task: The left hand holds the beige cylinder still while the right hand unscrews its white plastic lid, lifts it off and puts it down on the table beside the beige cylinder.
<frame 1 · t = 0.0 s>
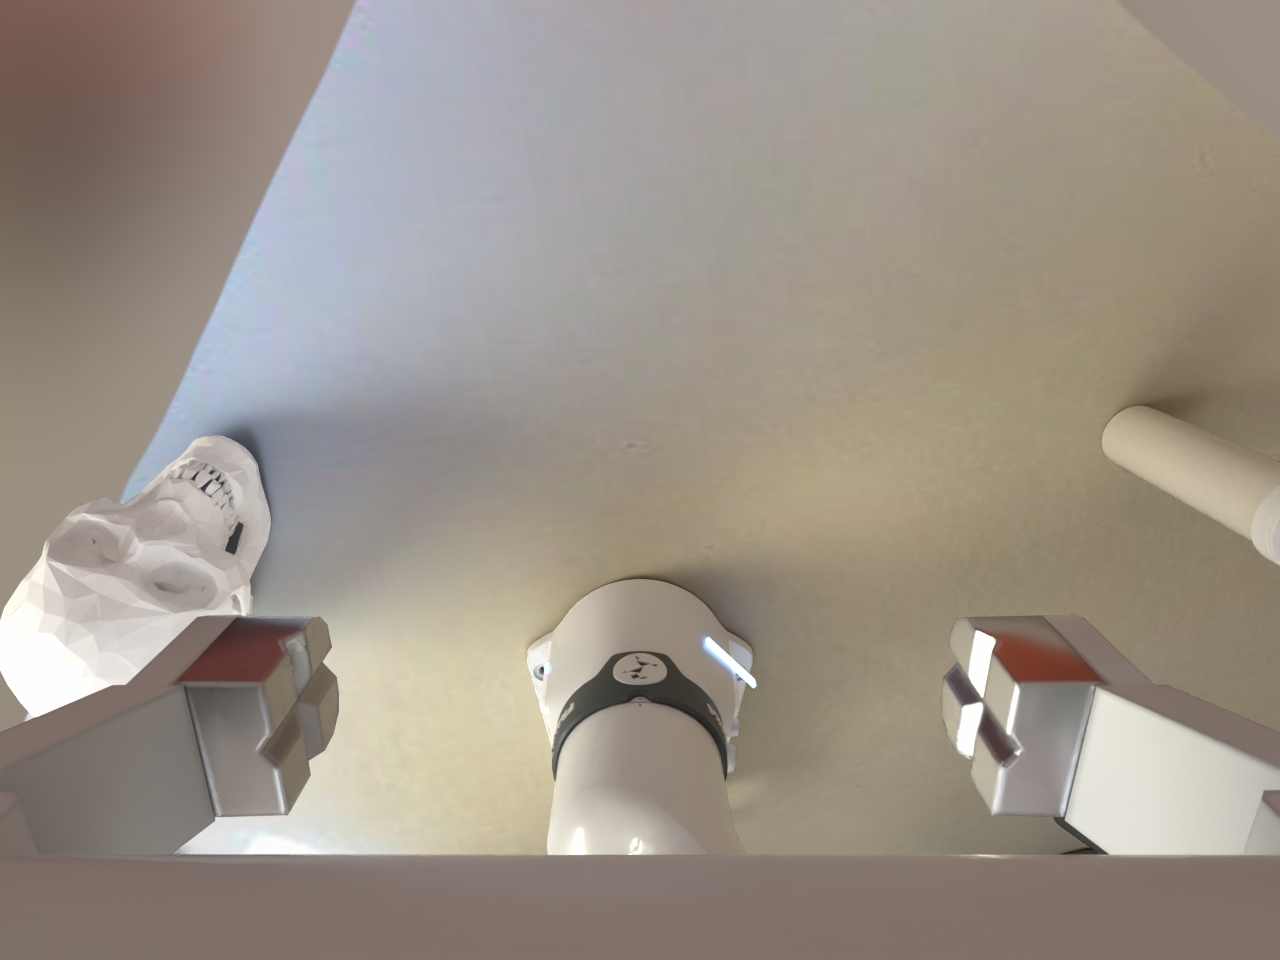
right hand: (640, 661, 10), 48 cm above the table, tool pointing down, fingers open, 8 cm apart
beige cylinder: (1133, 435, 59), on the table
skull: (200, 547, 63), on the table
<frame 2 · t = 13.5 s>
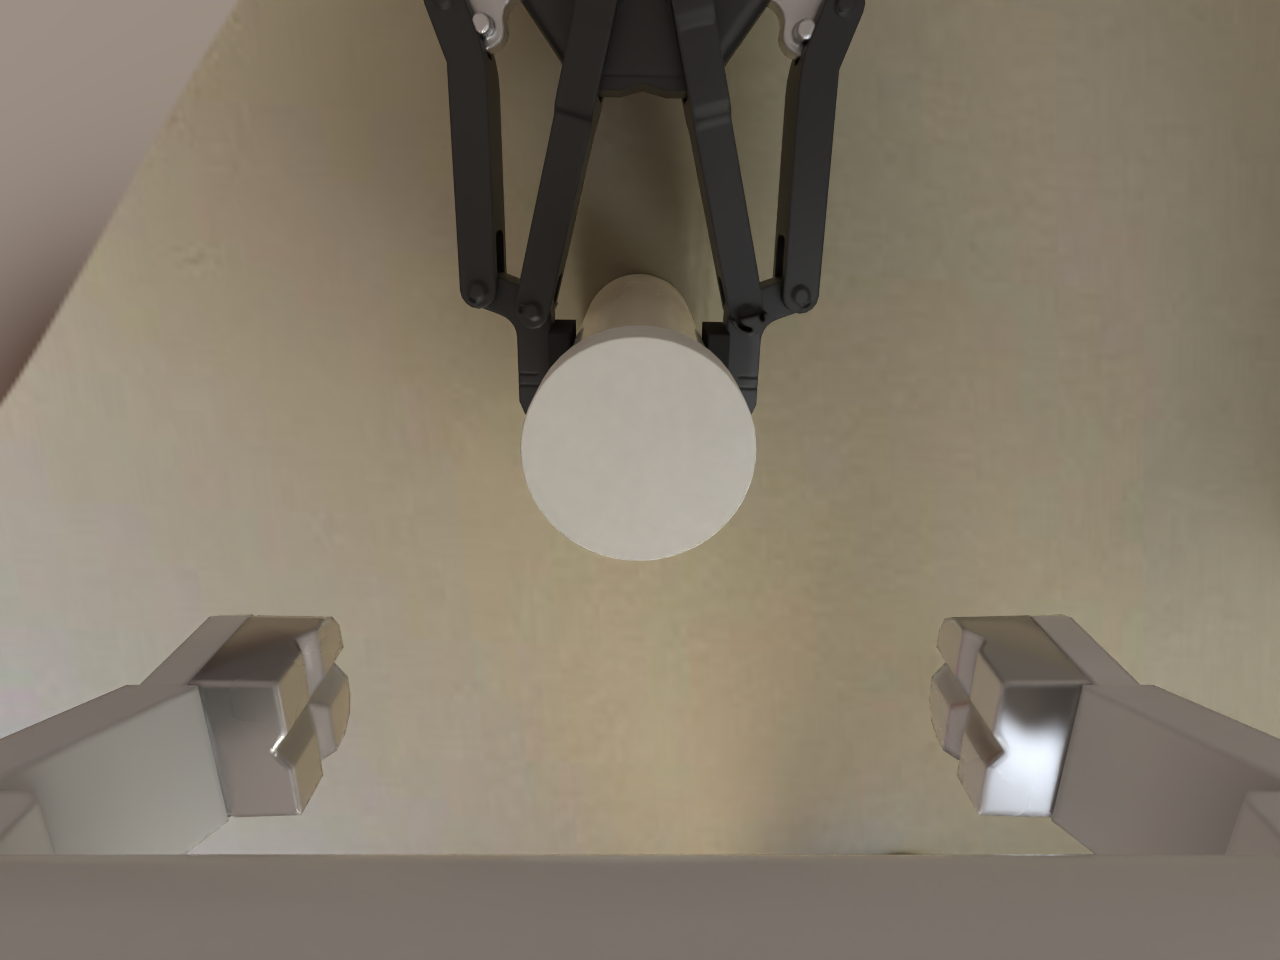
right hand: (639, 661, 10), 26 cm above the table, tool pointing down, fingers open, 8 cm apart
left hand: (636, 494, 30), fingers closed on beige cylinder, 5 cm apart
beige cylinder: (638, 329, 35), on the table, touching left hand
lid: (638, 450, 19), point 17 cm above the table, screwed on, not yet turned
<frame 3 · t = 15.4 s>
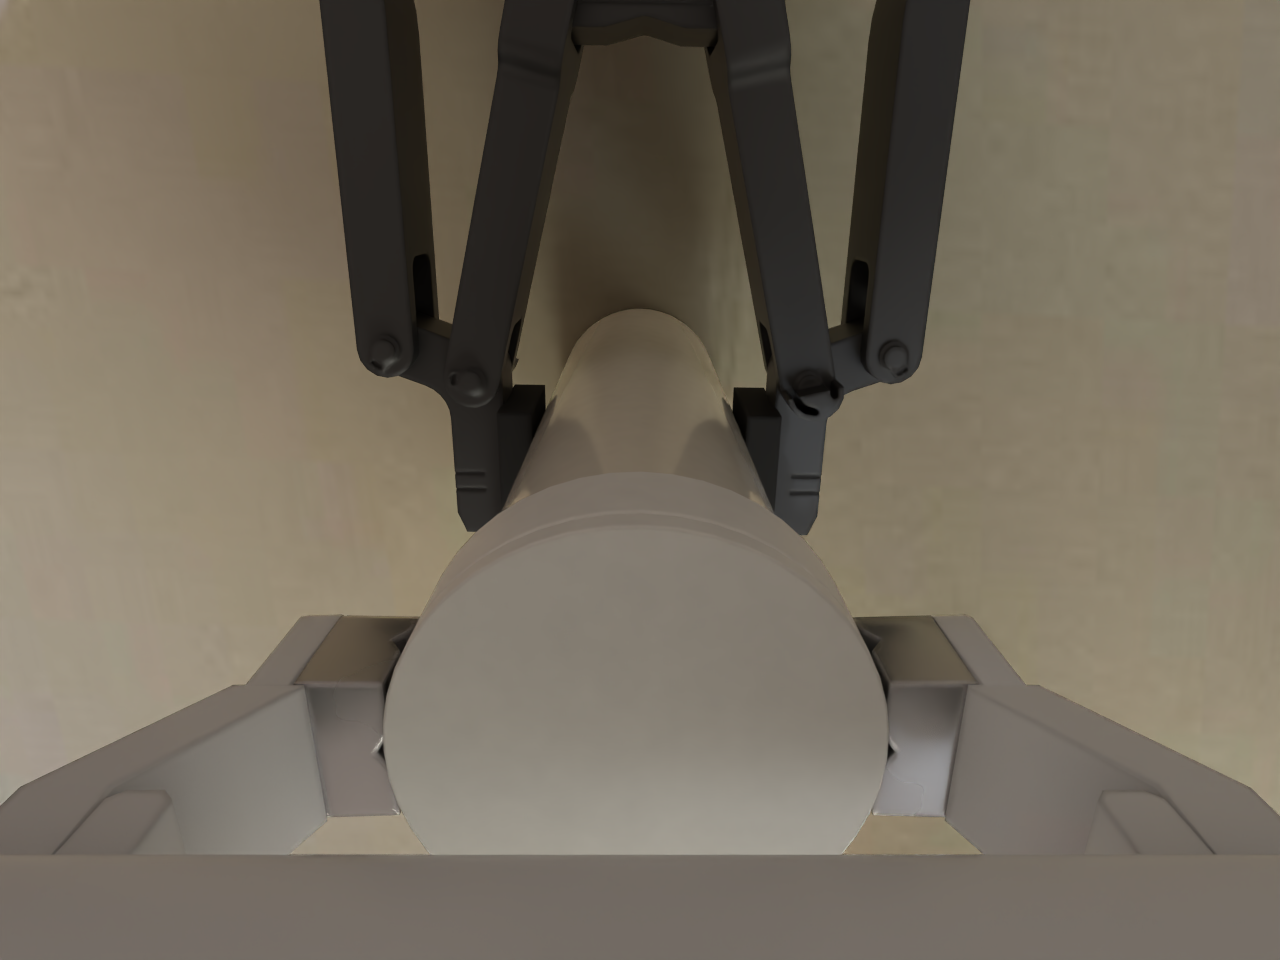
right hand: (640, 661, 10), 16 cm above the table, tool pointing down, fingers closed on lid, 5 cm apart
left hand: (636, 637, 21), fingers closed on beige cylinder, 5 cm apart
beige cylinder: (639, 383, 25), on the table, touching left hand
lid: (636, 736, 9), point 17 cm above the table, screwed on, not yet turned, touching right hand
when the right hand's fingers open (16 cm above the table, at t = 16.7 s): lid stays where it is, point 17 cm above the table.
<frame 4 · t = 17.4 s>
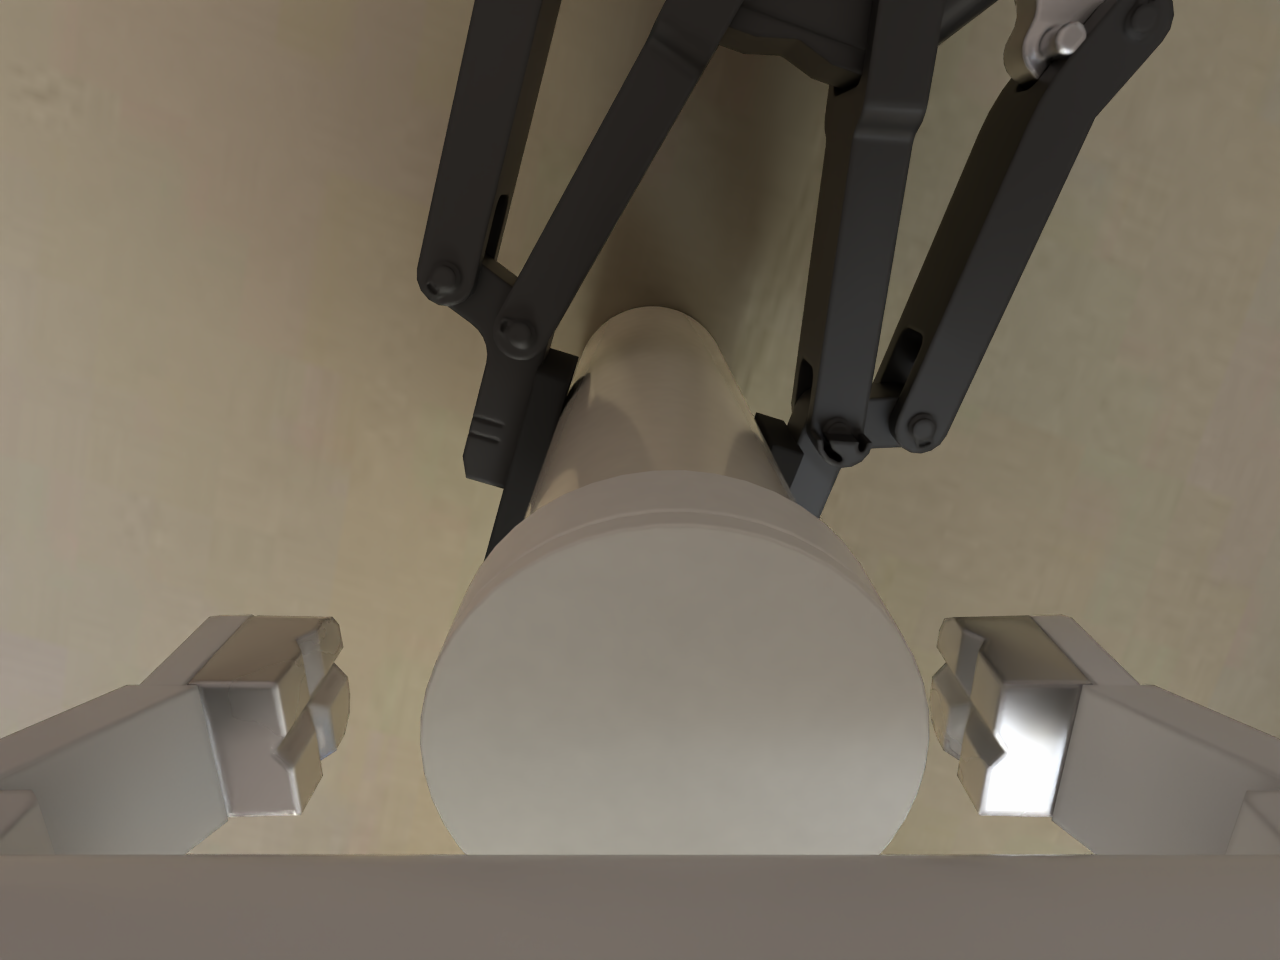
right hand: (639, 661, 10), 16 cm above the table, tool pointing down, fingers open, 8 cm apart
left hand: (593, 624, 21), fingers closed on beige cylinder, 5 cm apart
beige cylinder: (651, 381, 25), on the table, touching left hand
lid: (673, 736, 9), point 17 cm above the table, turned 75° so far, risen 0.2 cm, still on its thread
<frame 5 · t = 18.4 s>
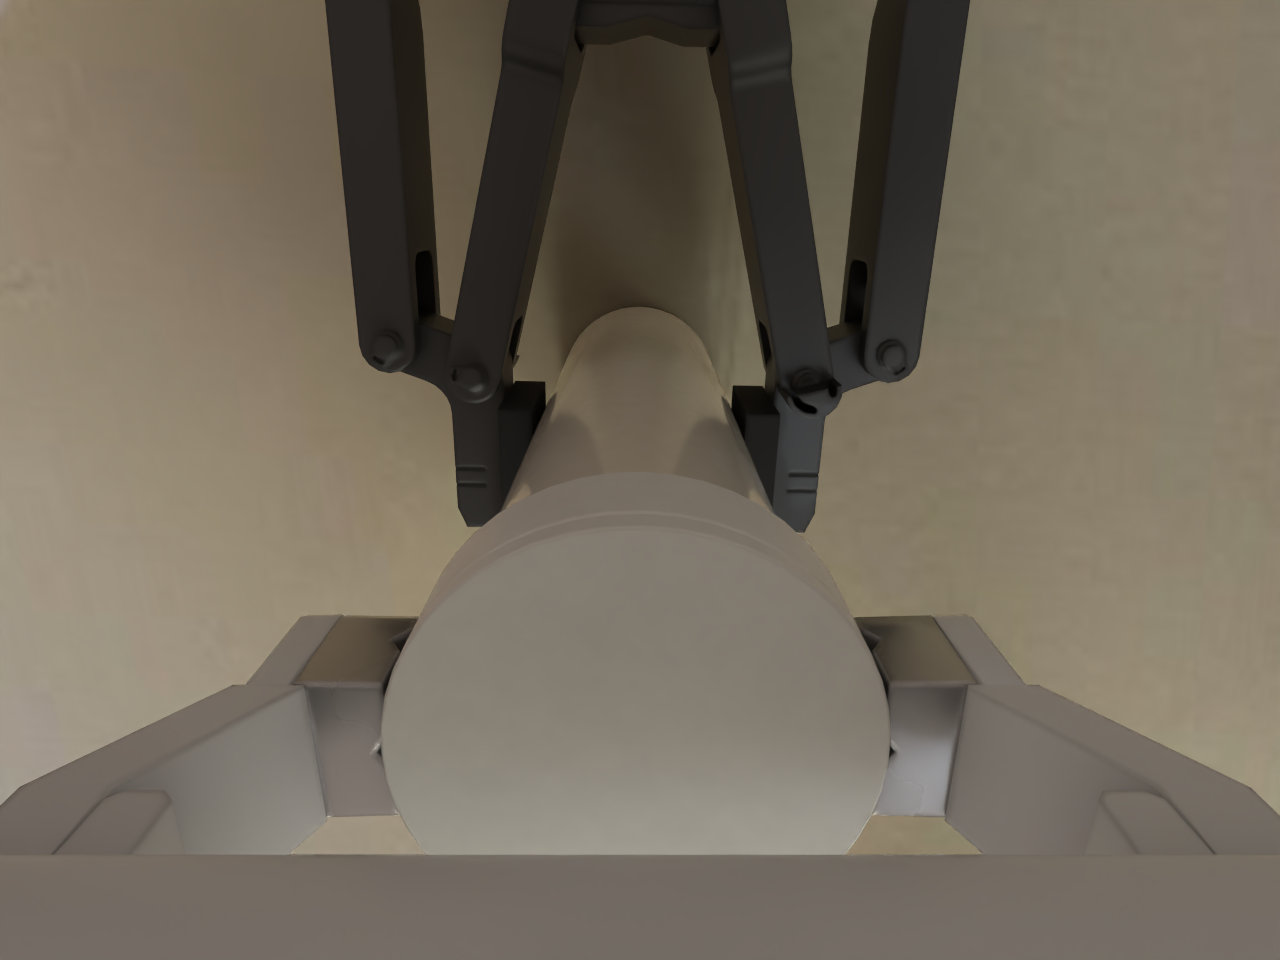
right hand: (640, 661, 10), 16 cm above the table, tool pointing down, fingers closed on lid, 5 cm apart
left hand: (634, 633, 21), fingers closed on beige cylinder, 5 cm apart
beige cylinder: (638, 381, 25), on the table, touching left hand
lid: (635, 738, 9), point 17 cm above the table, turned 75° so far, risen 0.2 cm, still on its thread, touching right hand
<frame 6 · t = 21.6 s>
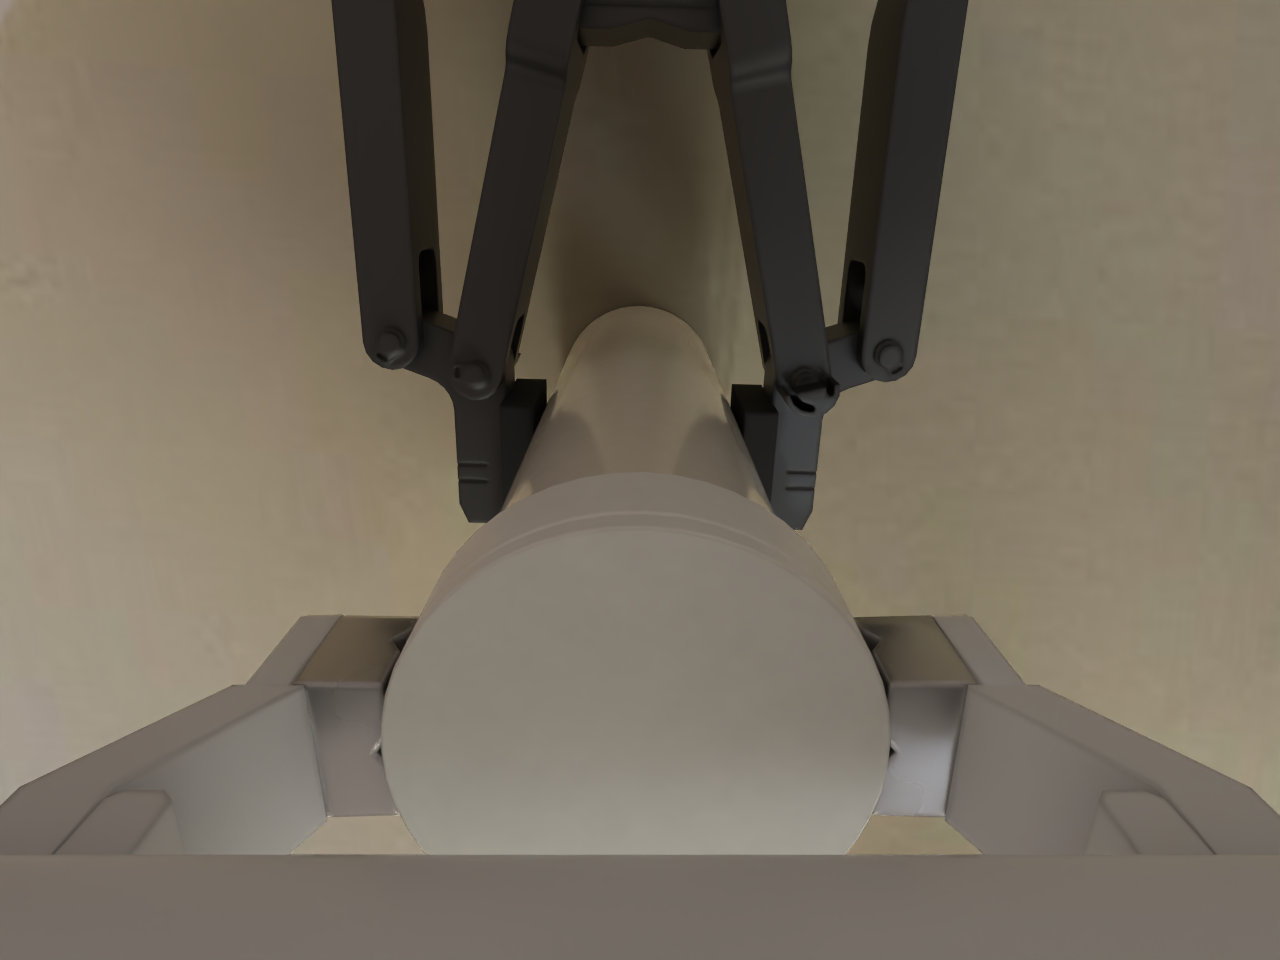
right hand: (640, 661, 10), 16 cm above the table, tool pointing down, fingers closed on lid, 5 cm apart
left hand: (633, 629, 21), fingers closed on beige cylinder, 5 cm apart
beige cylinder: (638, 380, 25), on the table, touching left hand
lid: (635, 738, 9), point 18 cm above the table, turned 150° so far, risen 0.4 cm, still on its thread, touching right hand
when the right hand's fingers open (2 cm above the table, at t = 28.7 s): lid drops 2 cm, point 1 cm above the table.
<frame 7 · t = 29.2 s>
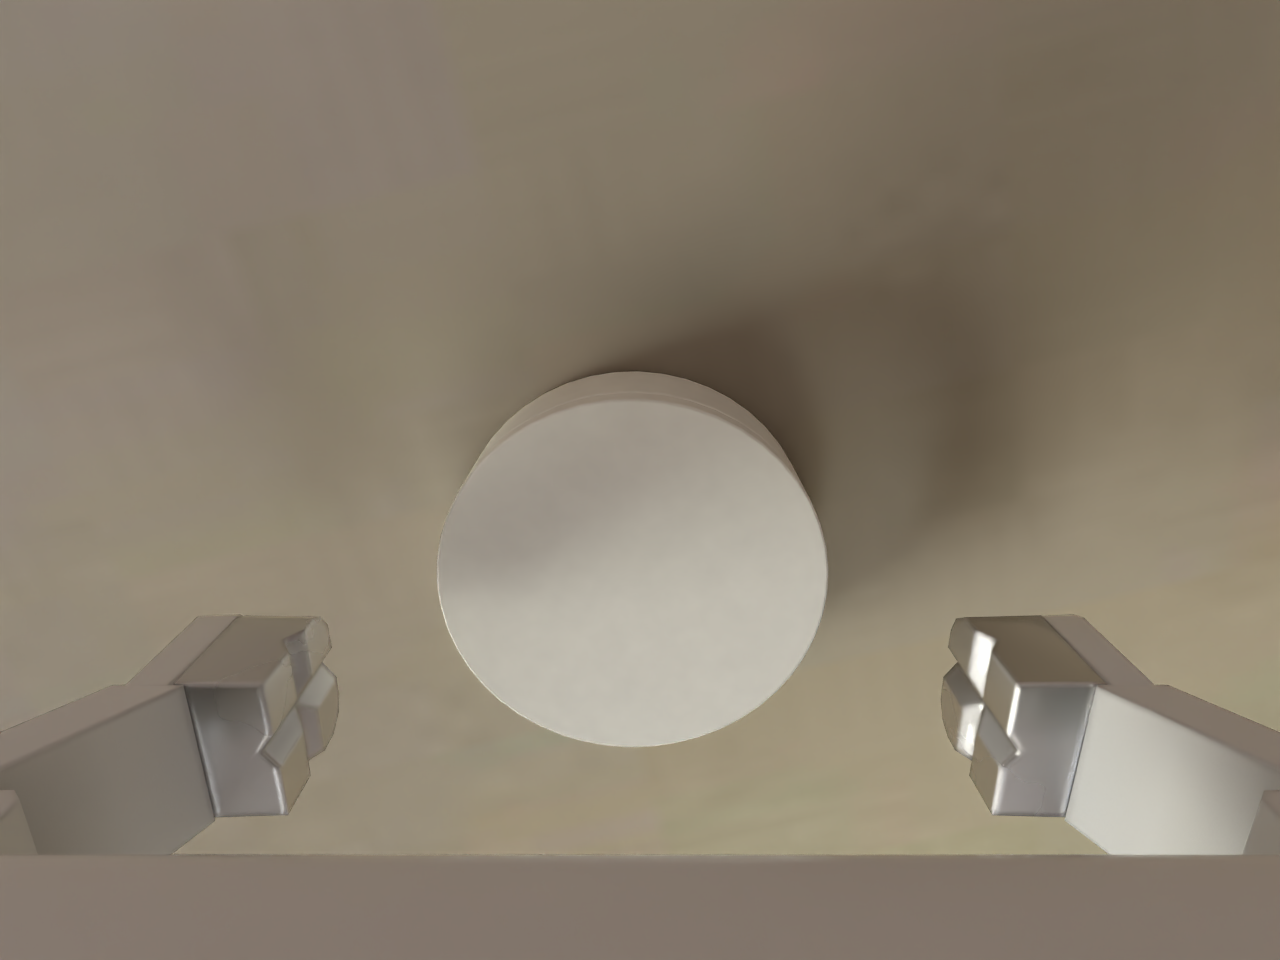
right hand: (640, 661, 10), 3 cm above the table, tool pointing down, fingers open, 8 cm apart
lid: (632, 577, 11), point 1 cm above the table, off its thread
when the left hand's fingers open (7 cm above the table, at t = 29.6 s): beige cylinder stays where it is, on the table.
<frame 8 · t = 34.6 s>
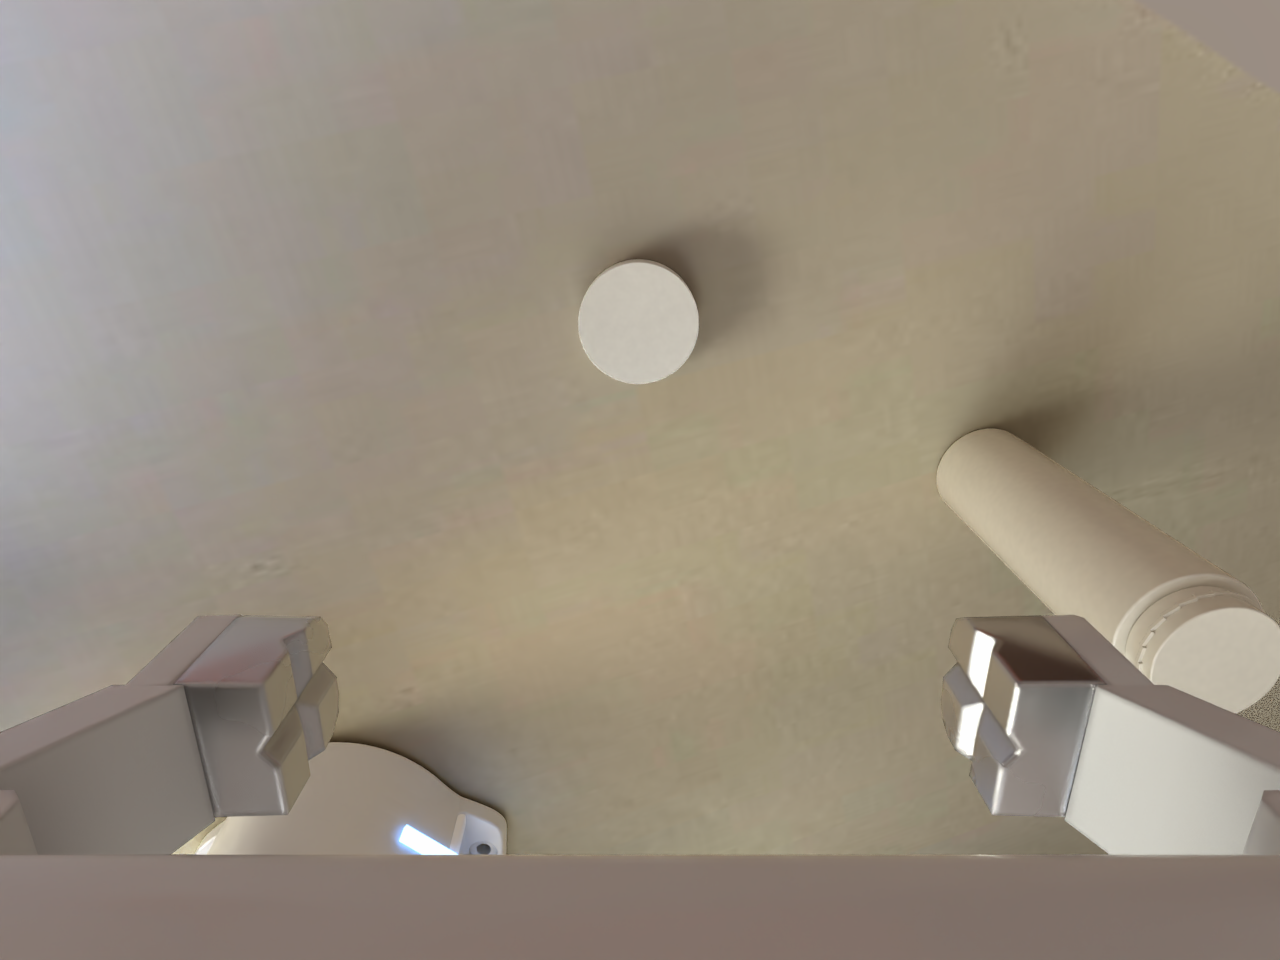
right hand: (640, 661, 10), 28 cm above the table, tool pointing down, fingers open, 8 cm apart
beige cylinder: (983, 473, 40), on the table
lid: (638, 323, 36), point 1 cm above the table, off its thread
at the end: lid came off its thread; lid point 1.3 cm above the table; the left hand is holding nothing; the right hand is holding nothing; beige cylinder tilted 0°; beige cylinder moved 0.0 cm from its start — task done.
